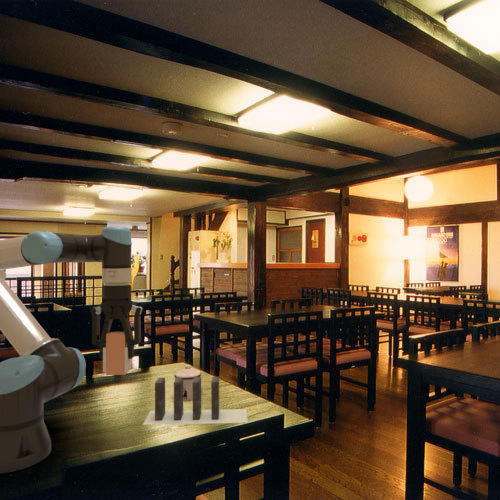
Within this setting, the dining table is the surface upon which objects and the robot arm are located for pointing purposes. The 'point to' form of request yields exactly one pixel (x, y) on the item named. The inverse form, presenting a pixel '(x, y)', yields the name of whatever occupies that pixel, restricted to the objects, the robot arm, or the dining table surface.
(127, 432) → the dining table surface
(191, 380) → the teacup with lid
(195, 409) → the domino
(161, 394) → the domino
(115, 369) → the domino
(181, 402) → the domino
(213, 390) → the domino
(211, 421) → the board
